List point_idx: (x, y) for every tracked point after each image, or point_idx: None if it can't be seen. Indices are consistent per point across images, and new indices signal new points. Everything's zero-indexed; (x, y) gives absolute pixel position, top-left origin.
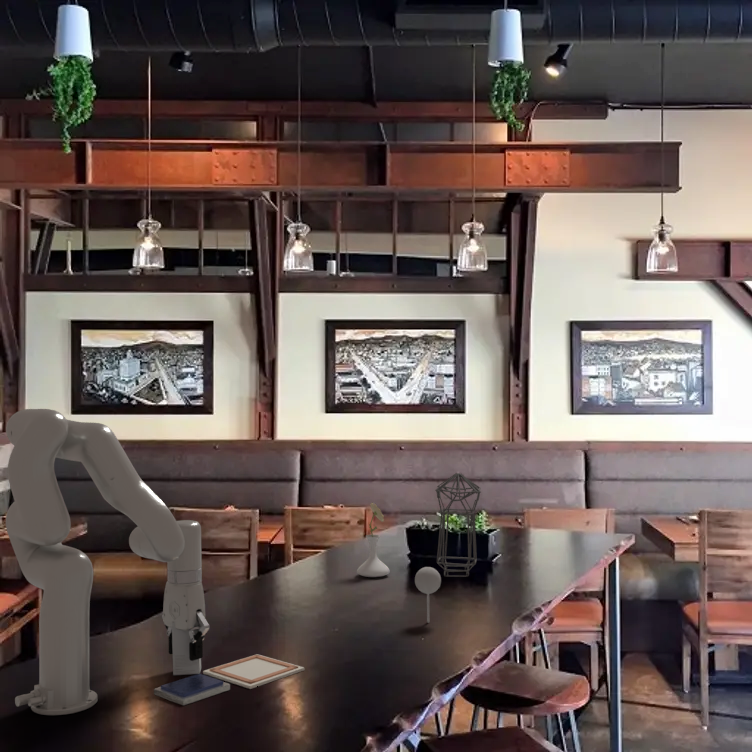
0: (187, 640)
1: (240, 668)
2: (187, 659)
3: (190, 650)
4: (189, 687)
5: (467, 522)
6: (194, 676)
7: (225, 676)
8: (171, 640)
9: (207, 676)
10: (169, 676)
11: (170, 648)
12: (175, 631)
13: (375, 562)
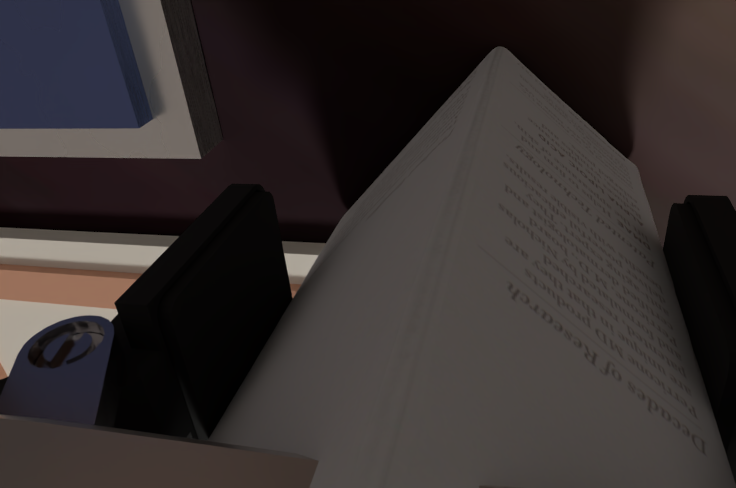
0: (281, 362)
1: None
2: (366, 212)
3: (185, 240)
4: None
5: None
6: (87, 44)
7: (122, 264)
8: (712, 325)
9: (34, 123)
10: (522, 5)
11: (702, 237)
12: (345, 380)
13: None
